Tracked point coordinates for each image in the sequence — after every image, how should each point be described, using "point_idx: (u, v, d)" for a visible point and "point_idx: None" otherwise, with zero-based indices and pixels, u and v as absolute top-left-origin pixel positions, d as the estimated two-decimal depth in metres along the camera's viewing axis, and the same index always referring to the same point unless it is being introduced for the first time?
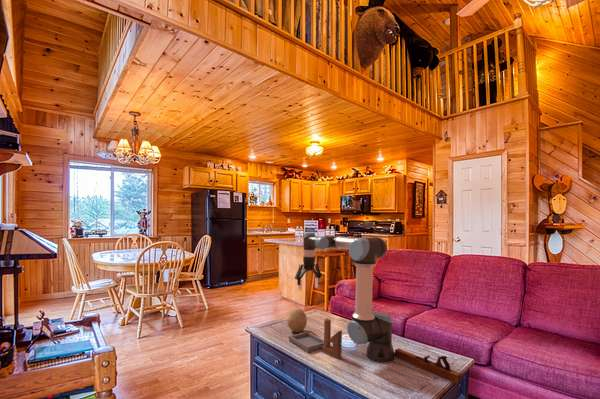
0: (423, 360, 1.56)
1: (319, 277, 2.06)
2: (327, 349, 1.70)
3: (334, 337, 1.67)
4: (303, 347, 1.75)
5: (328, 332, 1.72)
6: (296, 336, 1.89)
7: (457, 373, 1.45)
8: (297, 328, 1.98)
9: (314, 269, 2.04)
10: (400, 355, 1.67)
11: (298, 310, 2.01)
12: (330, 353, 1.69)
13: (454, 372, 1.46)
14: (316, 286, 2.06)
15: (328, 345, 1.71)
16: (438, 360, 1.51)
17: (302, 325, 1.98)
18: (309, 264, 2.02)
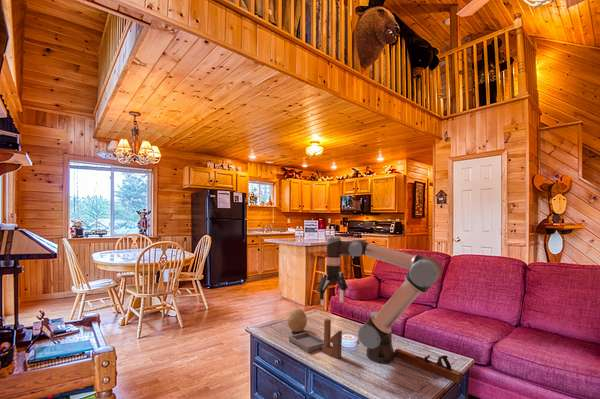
0: (424, 360, 1.57)
1: (345, 289, 1.75)
2: (327, 349, 1.70)
3: (334, 337, 1.67)
4: (303, 347, 1.75)
5: (328, 332, 1.72)
6: (296, 336, 1.89)
7: (458, 372, 1.45)
8: (297, 328, 1.98)
9: (339, 280, 1.73)
10: (400, 355, 1.66)
11: (298, 310, 2.01)
12: (330, 353, 1.69)
13: (455, 371, 1.46)
14: (341, 300, 1.75)
15: (328, 345, 1.71)
16: (439, 360, 1.52)
17: (302, 325, 1.98)
18: (333, 274, 1.71)
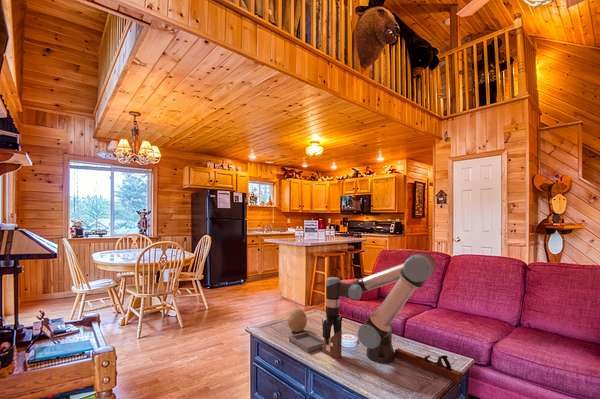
0: (424, 360, 1.57)
1: None
2: None
3: (334, 337, 1.67)
4: (303, 347, 1.75)
5: None
6: (296, 336, 1.89)
7: (458, 372, 1.45)
8: (297, 328, 1.98)
9: (337, 323, 1.71)
10: (400, 355, 1.67)
11: (298, 310, 2.01)
12: (330, 353, 1.69)
13: (455, 371, 1.46)
14: None
15: None
16: (439, 359, 1.52)
17: (302, 325, 1.98)
18: (333, 316, 1.70)
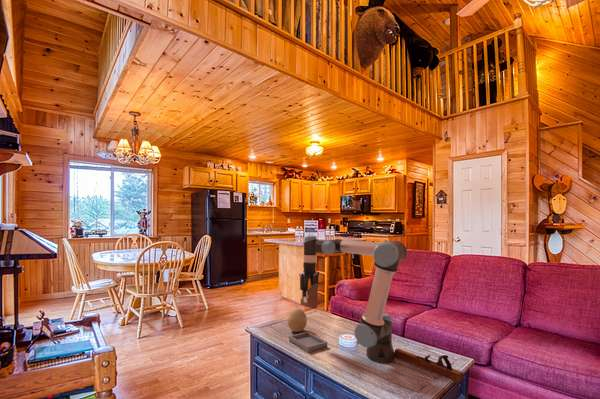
0: (424, 360, 1.57)
1: None
2: None
3: (310, 289, 1.81)
4: (303, 347, 1.75)
5: None
6: (296, 336, 1.89)
7: (459, 372, 1.46)
8: (297, 328, 1.98)
9: (313, 278, 1.85)
10: (400, 355, 1.67)
11: (298, 310, 2.01)
12: (307, 304, 1.83)
13: (456, 371, 1.47)
14: None
15: None
16: (439, 359, 1.52)
17: (302, 325, 1.98)
18: (310, 271, 1.84)
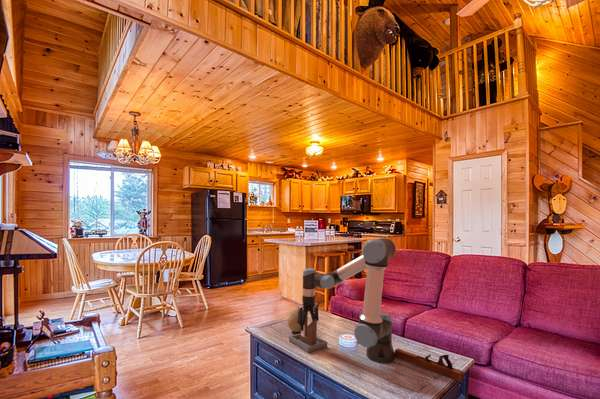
0: (424, 359, 1.57)
1: None
2: (304, 337, 1.83)
3: (309, 326, 1.80)
4: (303, 347, 1.75)
5: (305, 321, 1.85)
6: (296, 336, 1.89)
7: (460, 371, 1.47)
8: (297, 328, 1.98)
9: (313, 311, 1.84)
10: (400, 355, 1.67)
11: (298, 310, 2.01)
12: (306, 341, 1.82)
13: (456, 370, 1.47)
14: None
15: (305, 333, 1.84)
16: (440, 359, 1.53)
17: None
18: (309, 304, 1.83)
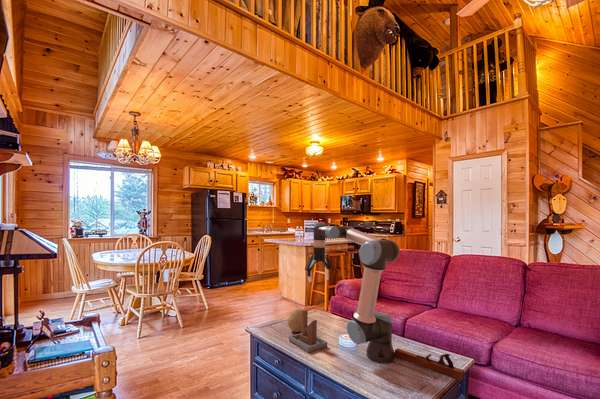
0: (425, 359, 1.58)
1: (329, 268, 2.00)
2: (304, 337, 1.83)
3: (309, 326, 1.80)
4: (303, 347, 1.75)
5: (305, 321, 1.85)
6: (296, 336, 1.89)
7: (460, 370, 1.48)
8: (297, 328, 1.98)
9: (324, 260, 1.98)
10: (400, 355, 1.66)
11: (298, 310, 2.01)
12: (306, 341, 1.82)
13: (457, 369, 1.48)
14: (326, 278, 2.00)
15: (305, 333, 1.84)
16: (441, 358, 1.53)
17: None
18: (319, 255, 1.96)
